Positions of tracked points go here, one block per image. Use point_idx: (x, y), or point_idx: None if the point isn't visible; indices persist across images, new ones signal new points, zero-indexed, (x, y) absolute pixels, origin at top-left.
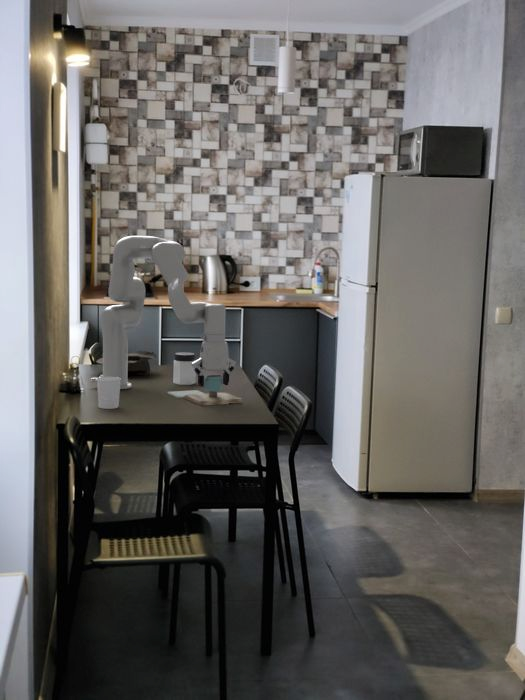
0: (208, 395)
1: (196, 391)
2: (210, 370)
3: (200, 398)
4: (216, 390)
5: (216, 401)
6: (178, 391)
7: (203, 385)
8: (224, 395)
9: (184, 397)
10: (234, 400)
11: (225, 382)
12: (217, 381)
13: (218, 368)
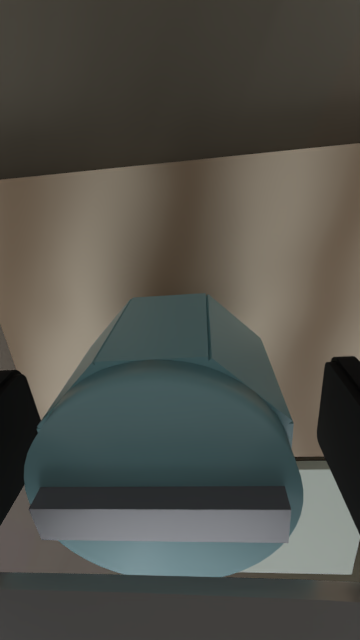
0: None
1: None
2: (337, 582)
3: (320, 297)
4: (172, 298)
5: (218, 159)
6: (288, 568)
7: (340, 359)
8: (76, 364)
9: (322, 462)
10: (29, 177)
11: (16, 407)
12: (145, 349)
13: (19, 634)
